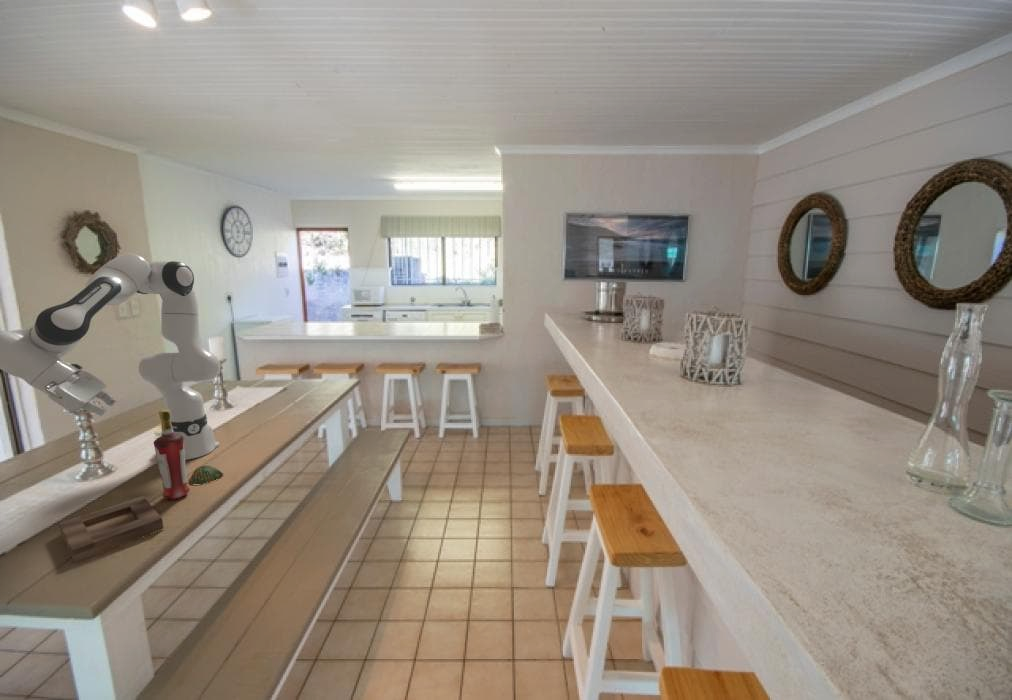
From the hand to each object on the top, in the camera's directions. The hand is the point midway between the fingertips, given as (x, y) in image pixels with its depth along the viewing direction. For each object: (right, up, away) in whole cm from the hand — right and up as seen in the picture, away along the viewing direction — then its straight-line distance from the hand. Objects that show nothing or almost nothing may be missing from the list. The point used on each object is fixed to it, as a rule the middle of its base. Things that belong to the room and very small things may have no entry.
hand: (109, 408), depth 128 cm
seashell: (+12, -27, +24) cm, 38 cm away
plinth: (+7, -33, -7) cm, 34 cm away
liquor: (+10, -29, +12) cm, 33 cm away
